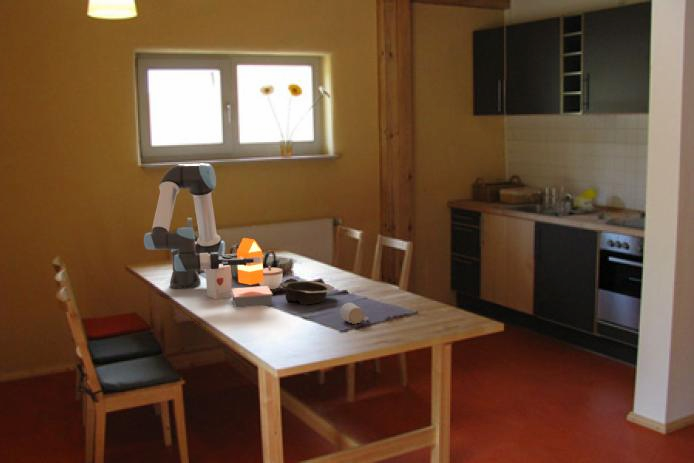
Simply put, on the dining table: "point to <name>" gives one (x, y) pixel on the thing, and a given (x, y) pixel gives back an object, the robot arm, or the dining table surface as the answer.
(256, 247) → the orange juice
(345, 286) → the dining table surface
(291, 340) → the dining table surface
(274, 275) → the lidded bowl
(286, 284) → the stone bowl
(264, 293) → the podium
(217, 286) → the supplement box
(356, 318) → the ceramic mug
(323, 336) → the dining table surface
